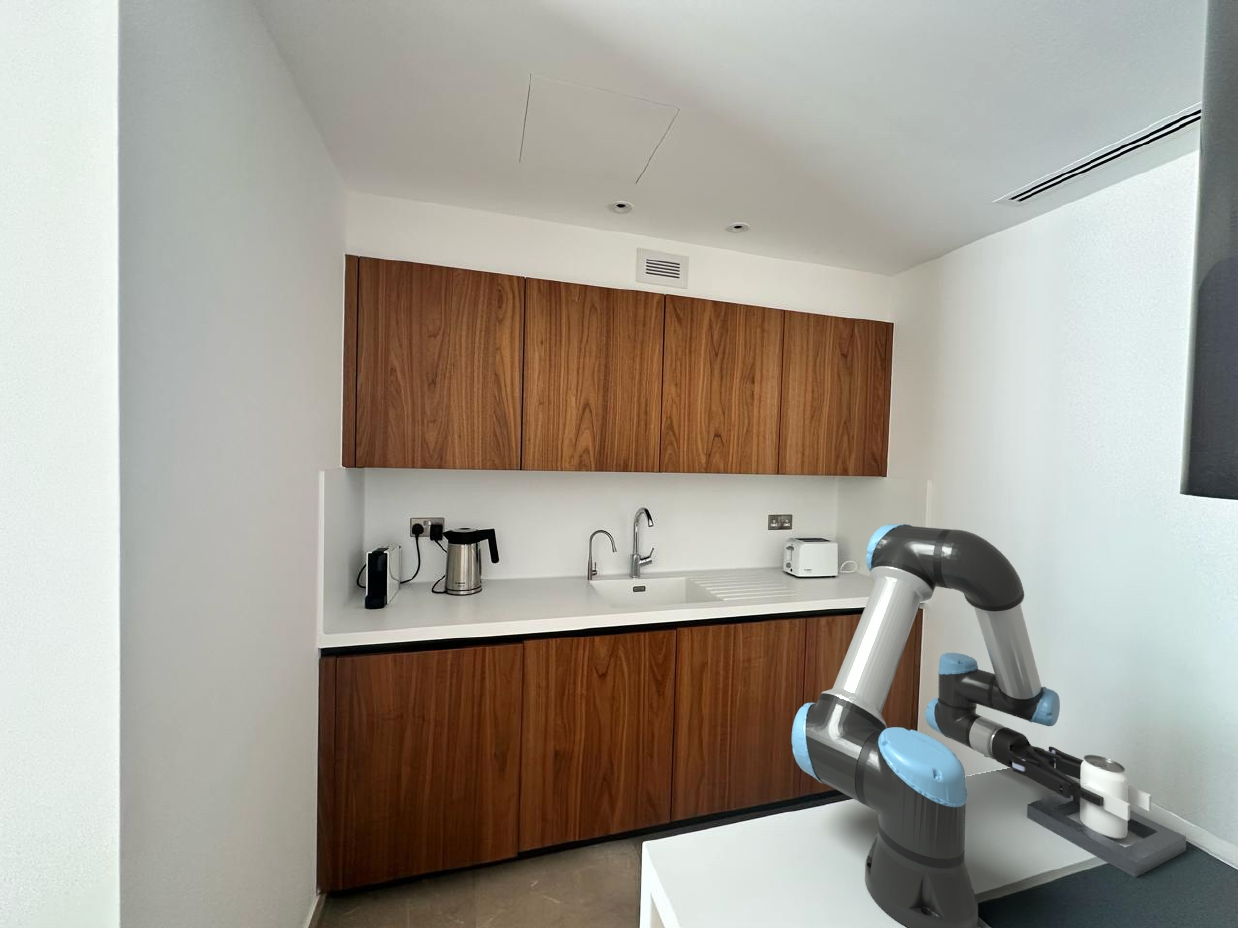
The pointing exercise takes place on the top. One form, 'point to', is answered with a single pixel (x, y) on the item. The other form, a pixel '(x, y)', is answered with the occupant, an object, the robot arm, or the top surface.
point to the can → (1110, 781)
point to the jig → (1129, 859)
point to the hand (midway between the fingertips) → (1139, 807)
